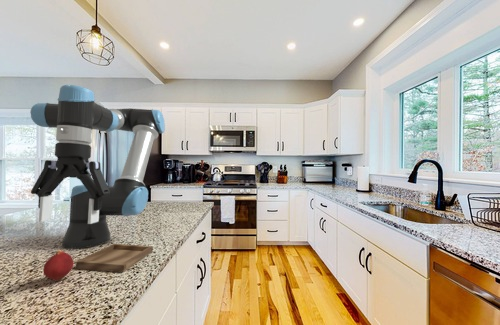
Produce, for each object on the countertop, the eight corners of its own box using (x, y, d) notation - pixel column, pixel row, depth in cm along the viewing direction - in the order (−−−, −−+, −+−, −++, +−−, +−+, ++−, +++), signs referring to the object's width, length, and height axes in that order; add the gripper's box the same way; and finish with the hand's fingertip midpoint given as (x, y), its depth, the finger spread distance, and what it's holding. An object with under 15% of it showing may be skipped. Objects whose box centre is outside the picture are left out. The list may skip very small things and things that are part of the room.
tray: (75, 268, 61) (76, 261, 61) (113, 249, 76) (113, 243, 76) (123, 272, 60) (123, 265, 60) (152, 251, 75) (152, 246, 75)
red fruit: (55, 275, 57) (57, 245, 58) (78, 274, 58) (79, 245, 58) (35, 287, 51) (38, 254, 52) (60, 286, 52) (62, 254, 52)
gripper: (15, 140, 54) (9, 223, 53) (107, 142, 53) (103, 227, 52) (45, 144, 61) (40, 216, 60) (126, 146, 60) (122, 220, 59)
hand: (69, 221), depth 56 cm, fingers open, 13 cm apart
